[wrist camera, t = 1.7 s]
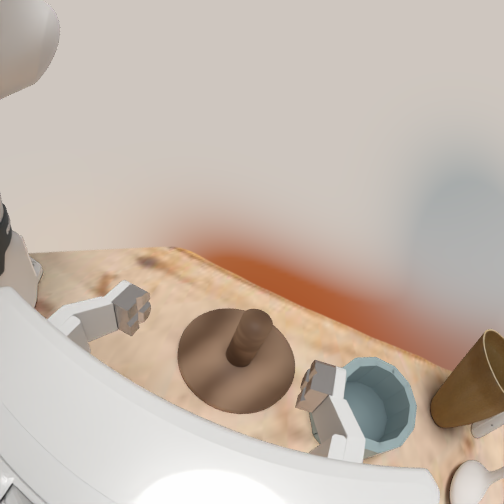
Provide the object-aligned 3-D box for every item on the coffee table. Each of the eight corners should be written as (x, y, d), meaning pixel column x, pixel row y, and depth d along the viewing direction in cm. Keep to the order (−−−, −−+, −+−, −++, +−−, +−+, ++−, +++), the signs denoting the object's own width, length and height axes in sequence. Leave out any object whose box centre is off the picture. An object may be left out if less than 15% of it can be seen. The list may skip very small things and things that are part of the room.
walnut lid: (153, 368, 30) (153, 330, 25) (216, 296, 43) (229, 253, 37) (265, 435, 28) (296, 414, 22) (305, 346, 40) (334, 310, 35)
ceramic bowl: (295, 441, 27) (318, 430, 24) (326, 362, 38) (347, 342, 35) (378, 470, 25) (408, 461, 21) (394, 395, 36) (418, 378, 32)
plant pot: (460, 452, 27) (529, 412, 17) (411, 433, 30) (489, 386, 20) (464, 392, 38) (518, 348, 28) (420, 367, 42) (478, 315, 32)
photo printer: (477, 442, 28) (524, 413, 21) (468, 431, 30) (516, 401, 23) (486, 411, 34) (526, 381, 27) (478, 400, 37) (518, 370, 29)
